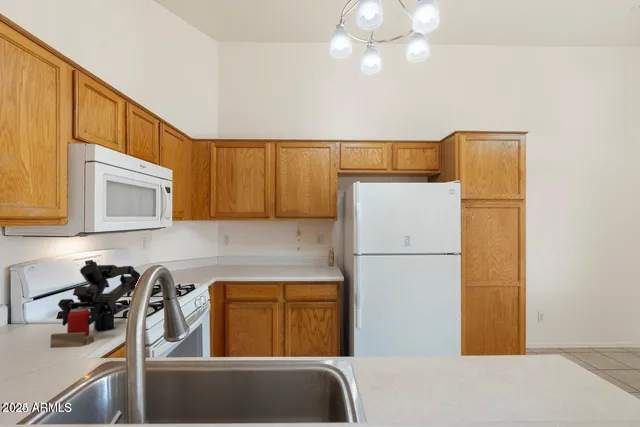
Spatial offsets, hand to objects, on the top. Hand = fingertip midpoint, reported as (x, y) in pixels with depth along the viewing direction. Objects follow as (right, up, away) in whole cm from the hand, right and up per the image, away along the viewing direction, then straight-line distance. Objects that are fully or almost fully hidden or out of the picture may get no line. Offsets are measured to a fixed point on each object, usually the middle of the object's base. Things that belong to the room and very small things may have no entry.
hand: (76, 324), depth 124 cm
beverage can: (0, -7, +1) cm, 7 cm away
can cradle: (0, -6, -2) cm, 7 cm away
